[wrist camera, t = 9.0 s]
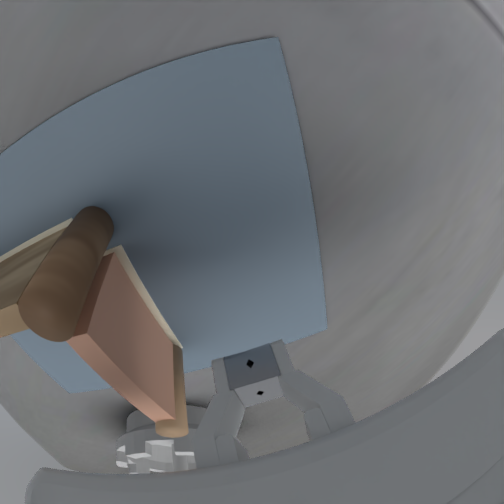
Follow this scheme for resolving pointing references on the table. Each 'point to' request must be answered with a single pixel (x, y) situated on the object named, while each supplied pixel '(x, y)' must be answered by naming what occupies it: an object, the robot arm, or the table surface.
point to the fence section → (131, 349)
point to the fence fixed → (53, 277)
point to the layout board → (181, 203)
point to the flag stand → (157, 445)
